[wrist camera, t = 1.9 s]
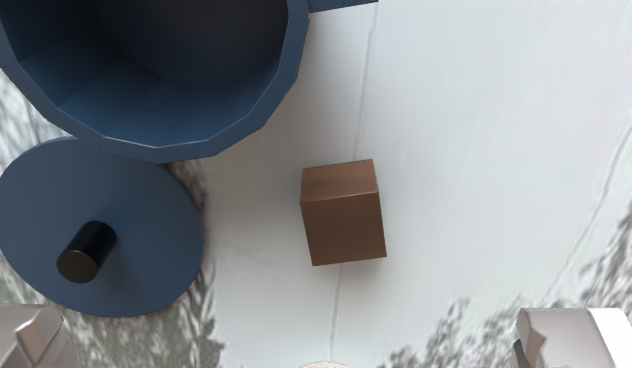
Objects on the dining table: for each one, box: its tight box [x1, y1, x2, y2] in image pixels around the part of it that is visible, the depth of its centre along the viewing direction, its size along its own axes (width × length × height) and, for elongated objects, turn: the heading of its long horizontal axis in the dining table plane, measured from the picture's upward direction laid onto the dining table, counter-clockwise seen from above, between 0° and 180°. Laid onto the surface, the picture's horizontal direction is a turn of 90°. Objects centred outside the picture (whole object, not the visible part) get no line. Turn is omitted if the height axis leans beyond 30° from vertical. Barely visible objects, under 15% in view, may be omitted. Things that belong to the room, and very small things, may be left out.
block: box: [300, 159, 387, 266], centre depth 33 cm, size 4×4×4 cm
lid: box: [0, 136, 205, 318], centre depth 34 cm, size 14×14×5 cm
